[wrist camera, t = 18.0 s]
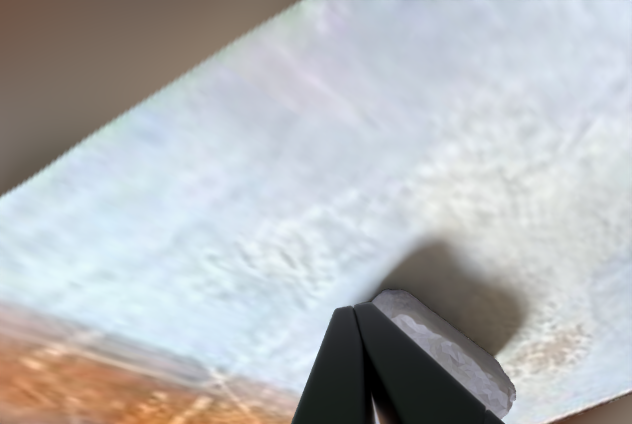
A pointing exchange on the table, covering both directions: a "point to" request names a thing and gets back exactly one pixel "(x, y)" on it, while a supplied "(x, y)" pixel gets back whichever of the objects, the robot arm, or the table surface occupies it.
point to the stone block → (450, 350)
